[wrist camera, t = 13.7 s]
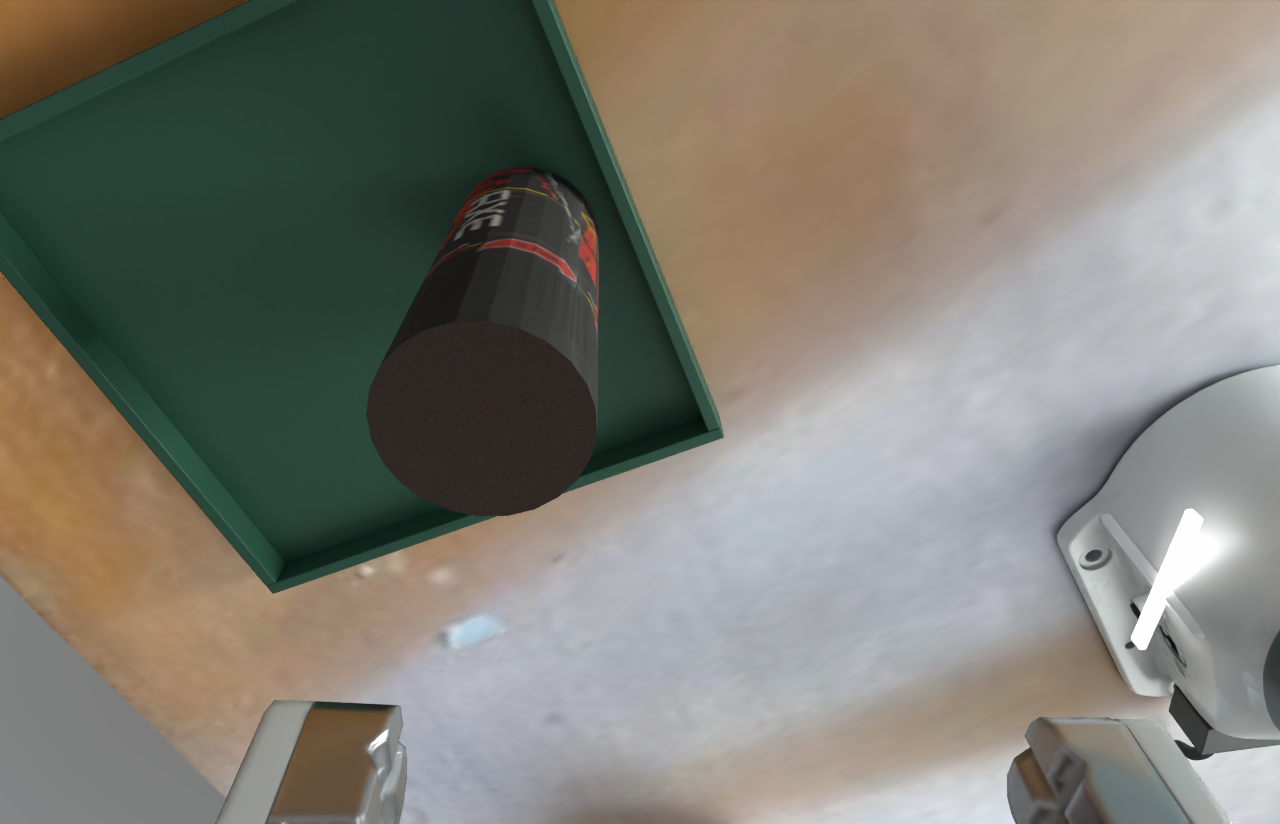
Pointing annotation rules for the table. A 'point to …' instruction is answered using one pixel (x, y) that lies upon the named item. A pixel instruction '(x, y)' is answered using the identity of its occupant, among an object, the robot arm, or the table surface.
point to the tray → (316, 250)
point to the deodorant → (497, 353)
